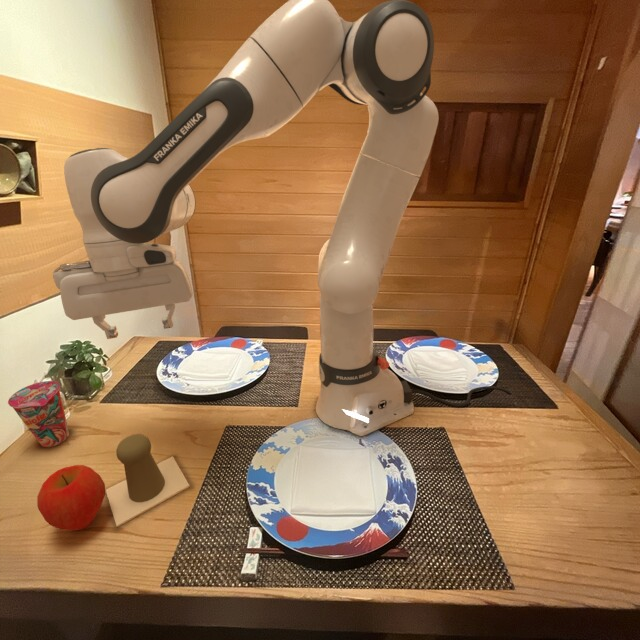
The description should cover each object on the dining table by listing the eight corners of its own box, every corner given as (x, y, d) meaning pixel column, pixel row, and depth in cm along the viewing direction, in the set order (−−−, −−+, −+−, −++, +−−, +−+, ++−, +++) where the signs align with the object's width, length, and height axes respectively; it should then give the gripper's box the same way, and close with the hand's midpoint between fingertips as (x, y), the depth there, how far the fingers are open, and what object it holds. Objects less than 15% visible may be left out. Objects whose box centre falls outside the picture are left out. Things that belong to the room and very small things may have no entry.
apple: (123, 499, 62) (106, 453, 58) (96, 547, 55) (73, 499, 50) (75, 500, 63) (54, 454, 58) (41, 549, 55) (13, 500, 50)
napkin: (173, 457, 71) (172, 455, 71) (189, 486, 64) (189, 485, 64) (106, 491, 64) (105, 489, 64) (117, 527, 58) (116, 526, 57)
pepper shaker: (151, 505, 61) (135, 457, 56) (120, 499, 62) (102, 452, 57) (171, 476, 66) (158, 430, 61) (142, 471, 67) (127, 426, 63)
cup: (20, 450, 74) (-4, 403, 69) (56, 422, 81) (37, 378, 76) (56, 457, 72) (34, 409, 67) (90, 428, 79) (72, 383, 74)
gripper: (40, 269, 54) (71, 350, 59) (181, 251, 59) (198, 327, 64) (56, 262, 60) (82, 337, 65) (183, 246, 65) (199, 316, 70)
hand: (141, 332), depth 65 cm, fingers open, 8 cm apart
